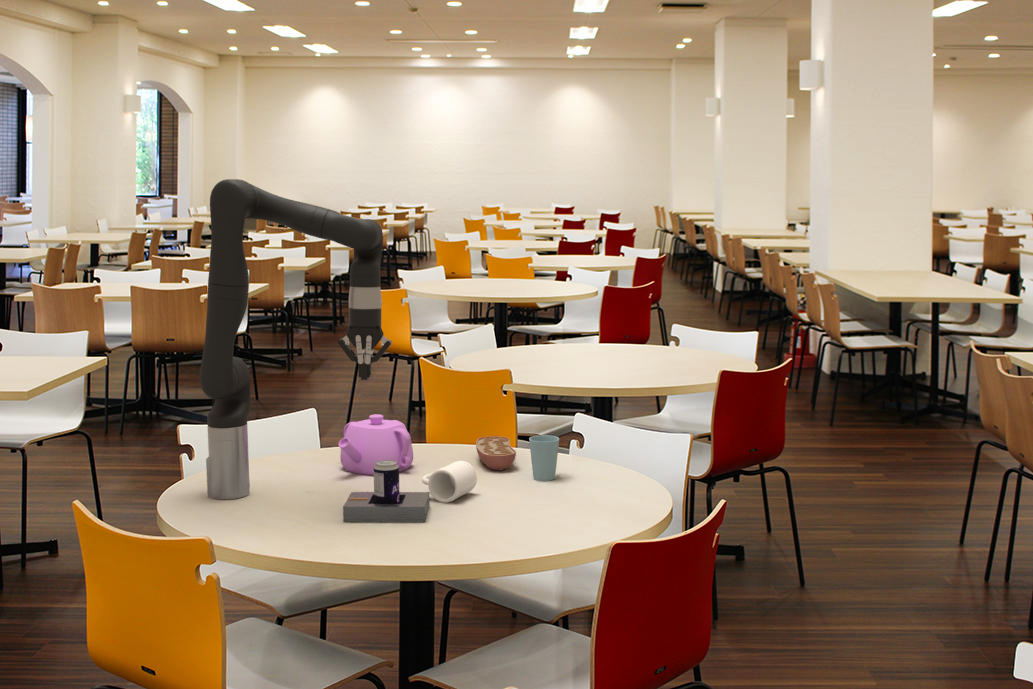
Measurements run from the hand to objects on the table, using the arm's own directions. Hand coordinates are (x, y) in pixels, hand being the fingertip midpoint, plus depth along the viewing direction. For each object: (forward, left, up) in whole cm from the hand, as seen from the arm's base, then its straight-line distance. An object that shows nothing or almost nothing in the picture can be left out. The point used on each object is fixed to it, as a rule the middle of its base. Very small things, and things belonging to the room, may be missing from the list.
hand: (365, 379), depth 250 cm
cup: (+42, +19, -29) cm, 55 cm away
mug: (+18, +2, -29) cm, 35 cm away
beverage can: (+6, -13, -29) cm, 32 cm away
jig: (+6, -13, -29) cm, 32 cm away
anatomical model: (+29, +35, -29) cm, 54 cm away
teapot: (-3, +28, -29) cm, 41 cm away
